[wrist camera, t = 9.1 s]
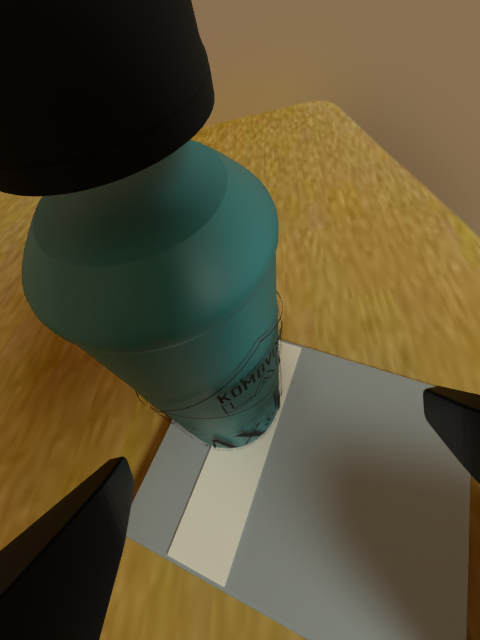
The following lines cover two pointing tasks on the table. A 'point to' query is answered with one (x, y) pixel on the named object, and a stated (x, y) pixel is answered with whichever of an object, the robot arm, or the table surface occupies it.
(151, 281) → the beverage bottle
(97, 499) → the robot arm
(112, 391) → the table surface
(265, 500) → the grey flat rectangular block
